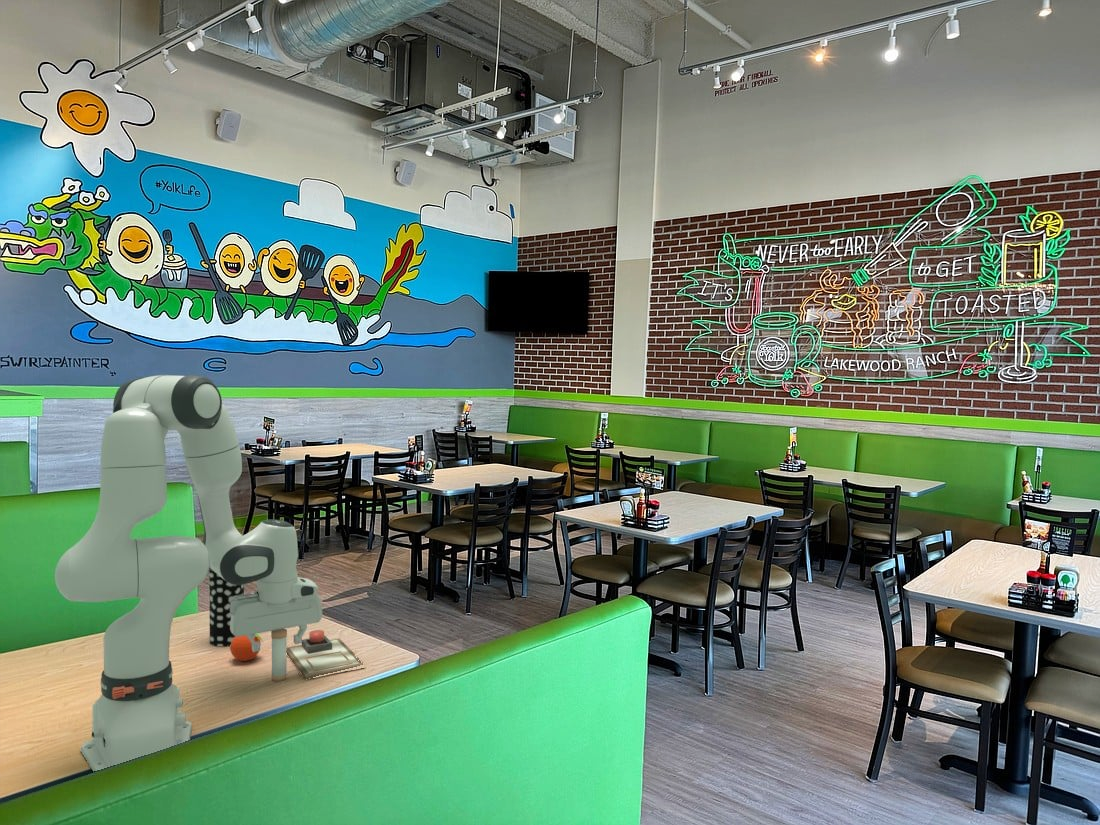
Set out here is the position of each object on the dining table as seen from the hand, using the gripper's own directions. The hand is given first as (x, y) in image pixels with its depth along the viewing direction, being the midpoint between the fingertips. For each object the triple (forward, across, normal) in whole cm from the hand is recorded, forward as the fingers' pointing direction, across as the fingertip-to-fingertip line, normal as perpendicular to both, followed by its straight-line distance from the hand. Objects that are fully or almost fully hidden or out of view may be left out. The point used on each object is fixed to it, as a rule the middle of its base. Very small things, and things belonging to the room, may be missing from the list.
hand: (277, 646), depth 178 cm
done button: (+4, +12, +10) cm, 16 cm away
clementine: (+8, -3, +13) cm, 16 cm away
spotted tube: (+8, -5, +29) cm, 31 cm away
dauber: (+7, 0, -2) cm, 7 cm away
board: (+7, +12, +4) cm, 15 cm away
